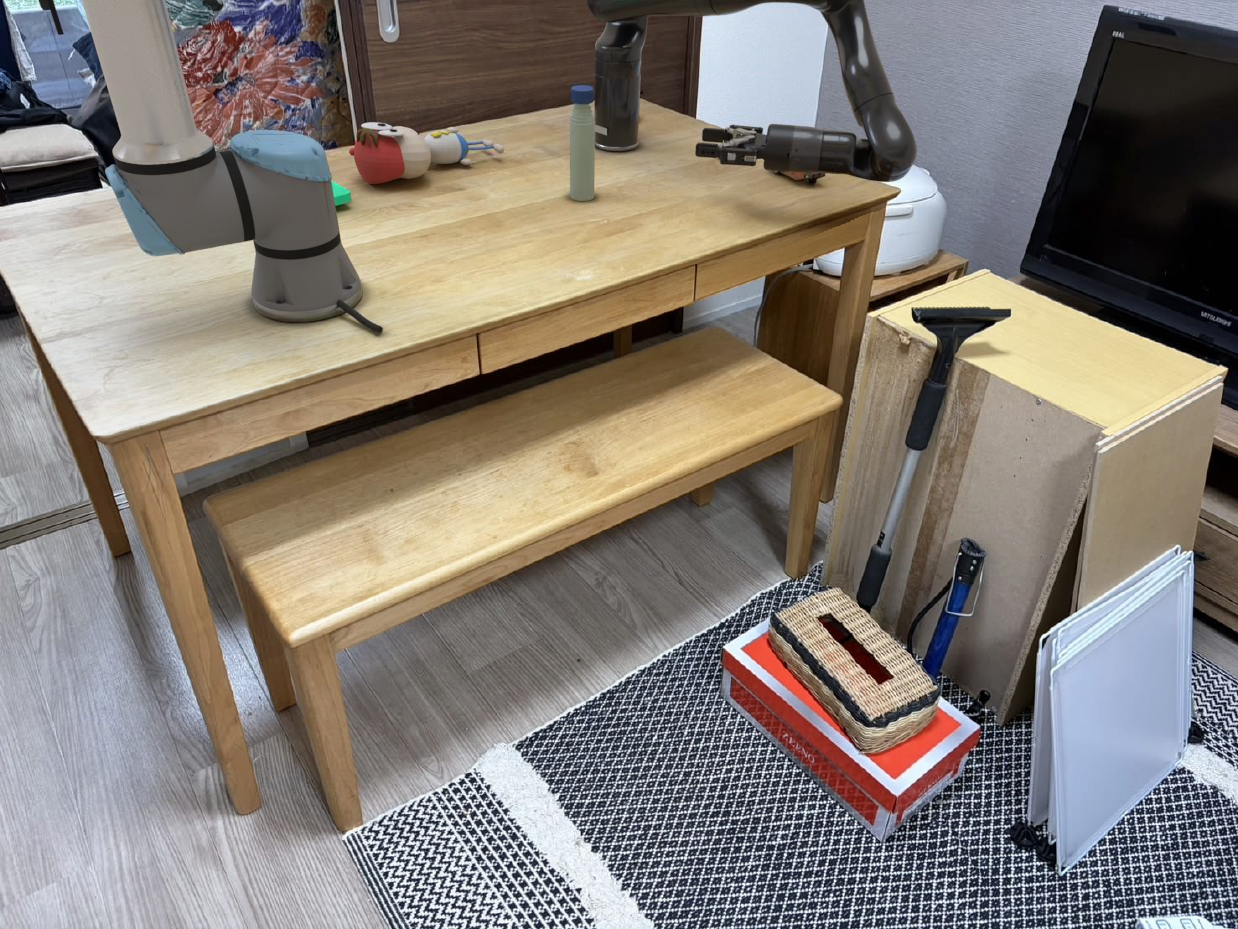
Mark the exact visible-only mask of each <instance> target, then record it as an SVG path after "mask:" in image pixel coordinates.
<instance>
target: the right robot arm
mask: <svg viewBox="0 0 1238 929" xmlns="http://www.w3.org/2000/svg"><path fill="white" fill-rule="evenodd" d="M585 2H586V6H587V8H588V9H589V11H590V13H592V15H593V16H594V17H596V18H597V19H598V20H600V21H602V22H605V23H606V24H605V28H604V30H603V32H602V33H601V35H600V36H599V37H598V39H597V40H595V41H596V42H595V44H594V101H593V103H594V105H593V106H594V111H593V116H594V120H595V148H598V149H600V150H604V151H609V152H626V151H631V150H634V149H637V148H638V147H639V129H640V128H639V127H640V104H641V103H640V102H641V100H640V99H641V95H644V94H645V93H644V92H645V91H644V90H643V89H642V88H641V78H642V77H641V75H642V74H641V73H642V71H641V70H642V51H643V48H644V45H645V43H646V38H647V32H648V31H647V30H648V20H649V19H648V18H649V17H650V16H651V17H652V16H664V17H665V16H666V17H716V16H717V17H718V16H728V15H734V14H737V13H741V12H743V11H746V10H749V9H750V8H753V7H756V6H759V5H762V4H772V3H773V4H774V3H775V4H776V3H777V4H779V3H780V4H781V3H782V4H797V5H803V6H807V7H809V8H811V9H814V10H816V11H819V12H820V14H821V16H822V17H823V19H824V21H825V22H826V24H827V26H828V28H829V29H830V32H831V34H832V37H833V39H834V42H835V46H836V50H837V54H838V58H839V59H838V62H839V68H840V77H841V82H842V84H843V89H844V93H845V95H846V98H847V101H848V103H849V106H850V108H851V111H852V114H853V117H854V119H855V121H856V123H857V125H858V126H859V127H860V128H861V129H862V130H864V131H863V132H864V133H865V136H866V138H863V137H859V136H858V135H857V134H856V133H855V132H852V131H849V130H839V129H827V128H825V129H824V128H819V127H814V126H808V125H793V124H781V123H770V124H769V125H768V126H767V131H766V134H764V128H763V127H761V126H751V125H739V124H729V126H727V127H725V128H717V127H716V128H715V127H704V128H703V129H702V132H701V140H702V141H703V142H697V143H696V144H695V150H694V151H695V154H694V155H695V157H697V158H706V159H707V158H708V159H709V158H710V159H717V161H719V164H720V165H722V166H724V165H725V166H741V167H742V166H743V167H746V166H747V167H755V166H757V160H763V169H764V170H765V171H772V172H773V171H783V172H796V173H825V174H827V175H828V174H829V175H846V176H850V177H854V178H857V179H862V180H867V181H872V182H879V183H892V182H897V181H899V180H901V179H903V178H905V176H906V175H907V174H909V172H910V170H911V168H912V167H913V165H914V164H915V162H916V160H917V157H918V146H917V145H918V144H917V142H916V138H915V135H914V133H913V131H912V129H911V126H910V124H909V123H908V121H907V119H906V117H905V115H904V114H903V112H902V110H901V109H900V108H899V105H898V102H897V99H896V96H895V93H894V91H893V87H892V84H891V82H890V79H889V77H888V74H887V72H886V69H885V66H884V64H883V61H882V58H881V56H880V53H879V50H878V48H877V45H876V41H875V39H874V35H873V32H872V29H871V25H870V21H869V17H868V13H867V9H866V3H865V0H585ZM719 143H720V144H719Z"/></svg>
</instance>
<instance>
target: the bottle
mask: <svg viewBox="0 0 1238 929" xmlns="http://www.w3.org/2000/svg"><path fill="white" fill-rule="evenodd" d="M569 116H570V117H569V198H570V199H572V200H573V201H576V202H588V201H589V202H590V201H591V200H593V199H595V171H596V170H595V168H596V166H595V165H596V164H595V162H596V161H595V159H596V158H595V156H596V154H595V153H596V146H595V120H594V112H593V110H592V106H591V104H575V103H574V105H573V109H572V110H571V114H570V115H569Z"/></svg>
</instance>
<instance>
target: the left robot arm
mask: <svg viewBox="0 0 1238 929" xmlns="http://www.w3.org/2000/svg"><path fill="white" fill-rule="evenodd" d="M81 2H82V6H83V10H84V13H85V16H86V19H87V23H88V26H89V30H90V33H91V37H92V39H93V43H94V44H93V45H94V47H95V50H96V53H97V58H98V60H99V63H100V67H101V70H102V74H103V77H104V81H105V84H106V87H107V92H108V93H109V98H110V101H111V104H112V107H113V112H114V115H115V118H116V122H117V125H118V128H119V131H120V138H119V139H118V141H117V142H116V144H115V145H114V147H113V148H112V155H113V159H114V162H115V164H113V163H112V164H111V165H110V166H108V167H106V168H105V170H104V173H105V175H106V177H107V180H108V182H109V184H110V187H111V189H112V191H113V193H114V195H115V197H116V200H117V202H118V205H119V206H120V209H121V211H122V213H123V215H124V218H125V219H126V222H127V224H128V227H129V229H130V230H131V232H132V234H133V235H132V236H133V237H134V239H135V240H136V243H137V245H138V247H139V248H140V249H141V251H143V252H144V253H145V254H147V255H149V256H151V257H162V256H164V257H165V256H171V255H178V254H179V255H185V254H186V253H191V252H197V251H203V250H208V249H213V248H218V247H224V246H228V245H234V244H235V245H236V244H240V243H245V242H251V241H252V242H253V247H254V251H255V258H254V264H253V273H252V283H251V291H250V293H251V299H252V303H253V307H254V309H255V310H256V311H257V313H259V314H260V315H262V316H264V317H266V318H268V319H271V320H275V321H281V322H289V323H304V322H314V321H315V322H316V321H320V320H326V319H330V318H332V317H336V316H338V315H341V314H343V313H347V314H348V315H350V317H352V318H353V319H355V321H357V322H358V323H359V324H361V325H362V326H364V327H366V328H367V329H369V330H371V331H373V332H375V333H378V334H381V333H383V331H384V327H383V326H381V325H379V324H377V323H374V322H373V321H371V320H369V319H367V318H366V317H365V316H364V315H362V314H361V313H360V312H359V311H357V310H356V309H354V307H355V306H356V305H357V304H358V303H359V302H360V301H361V298H362V297H363V287H362V282H361V278H360V276H359V274H358V272H357V270H356V268H355V266H354V264H353V263H352V261H351V259H350V257H349V255H348V253H347V251H346V250H345V248H344V245H343V243H342V239H341V233H340V225H339V220H338V214H337V207H336V206H335V201H334V195H333V188H332V182H331V181H333V174H332V172H331V169H330V166H329V161H328V158H327V154H326V151H325V149H324V147H323V145H322V144H321V143H320V142H318V141H317V140H315V139H314V138H312V137H310V136H308V135H304V134H301V133H297V132H292V131H287V130H278V129H277V130H276V129H254V130H247V131H243V132H241V133H239V132H238V133H237V134H235V135H233V137H231V139H230V144H229V147H230V149H228V150H220V151H216V148H215V144H214V140H213V138H211V137H210V136H209V135H207V134H206V133H204V132H203V131H201V130H200V129H199V128H198V127H197V124H196V121H195V115H194V112H193V108H192V104H191V99H190V96H189V91H188V87H187V83H186V79H185V76H184V72H183V67H182V62H181V59H180V55H179V51H178V50H179V49H178V48H177V41H176V39H175V35H174V30H173V26H172V22H171V17H170V15H169V14H170V13H169V10H168V6H167V2H166V0H81ZM38 4H39V6H40V8H41V9H42V11H50V14H51V18H52V20H53V23H54V26H55V29H56V30H55V31H56V32H57V35H58V36H61V35H65V34H64V30H63V27H62V24H61V20H60V18H59V14H58V12H57V8H56V5H55V2H54V0H38Z"/></svg>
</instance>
